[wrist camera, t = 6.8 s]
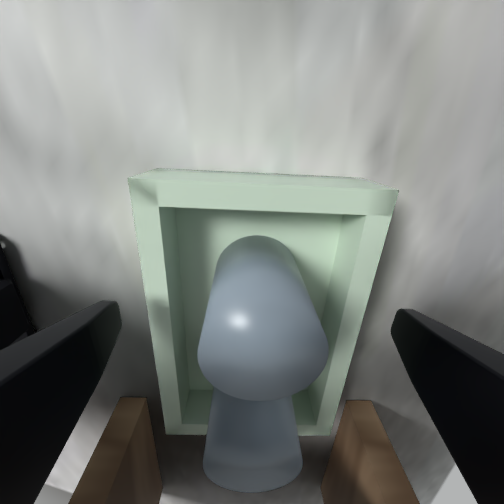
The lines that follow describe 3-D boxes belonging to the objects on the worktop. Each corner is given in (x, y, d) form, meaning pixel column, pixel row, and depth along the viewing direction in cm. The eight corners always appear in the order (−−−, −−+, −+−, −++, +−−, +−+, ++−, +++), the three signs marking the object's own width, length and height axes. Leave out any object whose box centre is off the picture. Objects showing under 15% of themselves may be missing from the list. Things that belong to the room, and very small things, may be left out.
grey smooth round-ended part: (217, 383, 13) (203, 492, 9) (217, 333, 12) (201, 433, 8) (281, 385, 13) (296, 493, 9) (288, 335, 12) (309, 435, 8)
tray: (179, 386, 15) (166, 434, 12) (156, 168, 10) (127, 178, 7) (316, 388, 15) (329, 435, 12) (362, 178, 10) (399, 190, 8)
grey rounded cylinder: (216, 305, 11) (200, 401, 7) (214, 234, 10) (193, 302, 6) (291, 306, 11) (318, 401, 7) (300, 236, 10) (339, 304, 6)
